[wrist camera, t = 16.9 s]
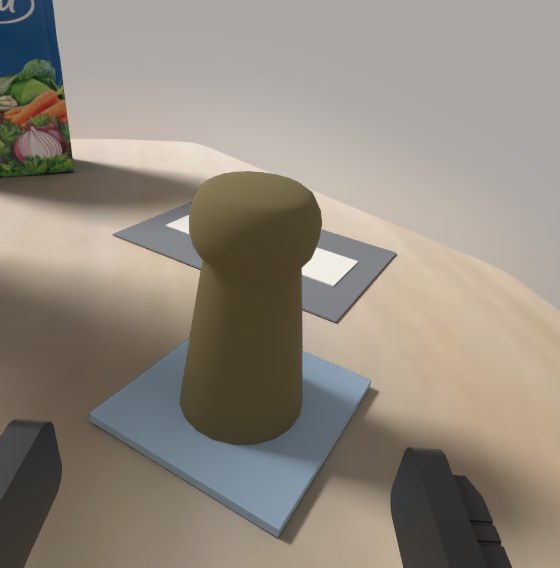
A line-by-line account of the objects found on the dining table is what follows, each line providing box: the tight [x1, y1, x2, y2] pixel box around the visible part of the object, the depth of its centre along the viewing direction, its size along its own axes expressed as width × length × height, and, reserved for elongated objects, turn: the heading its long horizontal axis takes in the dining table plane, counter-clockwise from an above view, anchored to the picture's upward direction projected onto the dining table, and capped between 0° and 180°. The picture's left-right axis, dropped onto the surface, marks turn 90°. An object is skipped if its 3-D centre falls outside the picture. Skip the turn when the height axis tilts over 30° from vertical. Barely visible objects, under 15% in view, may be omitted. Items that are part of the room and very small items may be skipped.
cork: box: [180, 171, 322, 445], centre depth 20 cm, size 6×6×11 cm
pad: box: [89, 339, 371, 538], centre depth 23 cm, size 10×10×1 cm
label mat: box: [113, 202, 396, 323], centre depth 39 cm, size 20×13×1 cm, turn 60°
